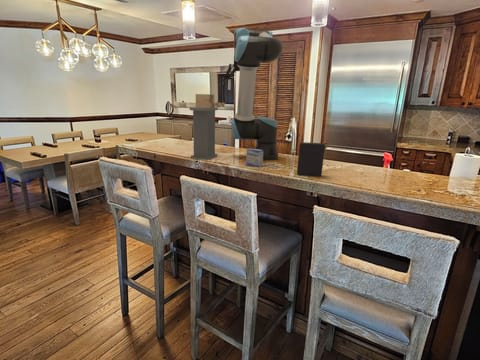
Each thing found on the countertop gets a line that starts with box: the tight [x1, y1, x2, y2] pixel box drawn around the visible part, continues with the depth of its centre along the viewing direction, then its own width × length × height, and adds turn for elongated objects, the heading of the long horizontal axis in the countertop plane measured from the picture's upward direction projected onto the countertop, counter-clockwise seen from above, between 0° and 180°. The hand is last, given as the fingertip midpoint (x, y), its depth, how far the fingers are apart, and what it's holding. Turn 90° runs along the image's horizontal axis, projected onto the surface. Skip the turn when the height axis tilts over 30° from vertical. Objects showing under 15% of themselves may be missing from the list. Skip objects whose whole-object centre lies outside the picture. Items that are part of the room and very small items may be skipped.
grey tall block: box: [189, 106, 219, 161], centre depth 162 cm, size 16×11×28 cm
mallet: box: [195, 93, 226, 108], centre depth 167 cm, size 27×8×7 cm, turn 159°
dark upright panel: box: [296, 141, 326, 177], centre depth 131 cm, size 11×4×15 cm, turn 84°
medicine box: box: [245, 148, 264, 168], centre depth 147 cm, size 8×4×9 cm, turn 62°
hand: (238, 90), depth 191 cm, fingers open, 13 cm apart
